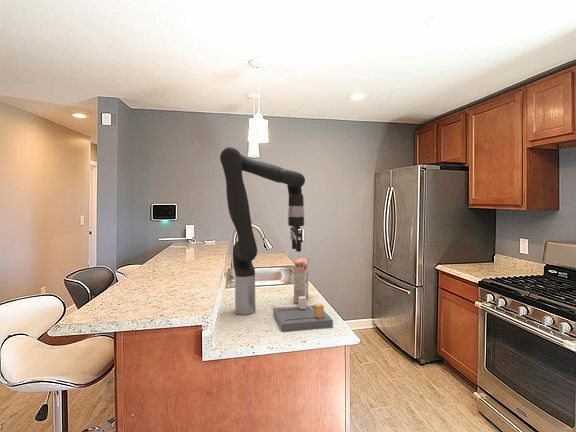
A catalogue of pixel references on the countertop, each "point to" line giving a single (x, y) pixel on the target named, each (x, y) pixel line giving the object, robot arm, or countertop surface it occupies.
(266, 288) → the countertop surface
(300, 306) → the white fader
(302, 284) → the cracker box
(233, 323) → the countertop surface
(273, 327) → the countertop surface
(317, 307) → the block
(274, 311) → the mixer console
